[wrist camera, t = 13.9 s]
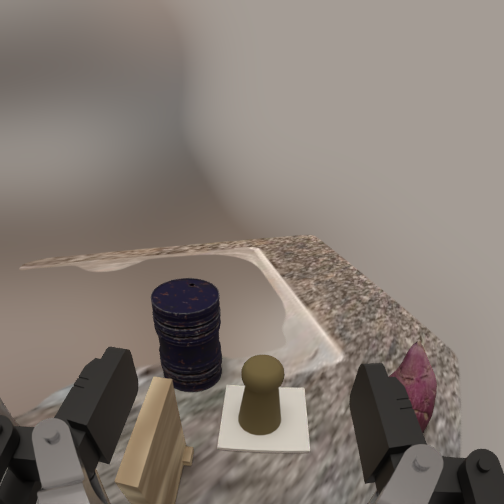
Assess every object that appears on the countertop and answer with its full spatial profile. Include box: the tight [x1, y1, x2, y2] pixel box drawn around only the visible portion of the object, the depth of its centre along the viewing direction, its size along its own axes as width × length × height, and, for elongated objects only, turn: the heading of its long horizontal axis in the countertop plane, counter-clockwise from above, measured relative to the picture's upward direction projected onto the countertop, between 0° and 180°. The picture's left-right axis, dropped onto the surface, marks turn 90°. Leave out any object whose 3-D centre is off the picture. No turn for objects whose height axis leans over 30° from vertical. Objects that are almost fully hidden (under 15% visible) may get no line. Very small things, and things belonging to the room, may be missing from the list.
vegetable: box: [389, 340, 437, 433], centre depth 39 cm, size 10×10×15 cm
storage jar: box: [151, 278, 222, 392], centre depth 47 cm, size 10×10×15 cm
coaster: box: [217, 385, 310, 453], centre depth 41 cm, size 12×12×1 cm
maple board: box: [115, 377, 194, 504], centre depth 27 cm, size 4×13×14 cm, turn 177°
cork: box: [238, 355, 284, 435], centre depth 39 cm, size 6×6×11 cm
